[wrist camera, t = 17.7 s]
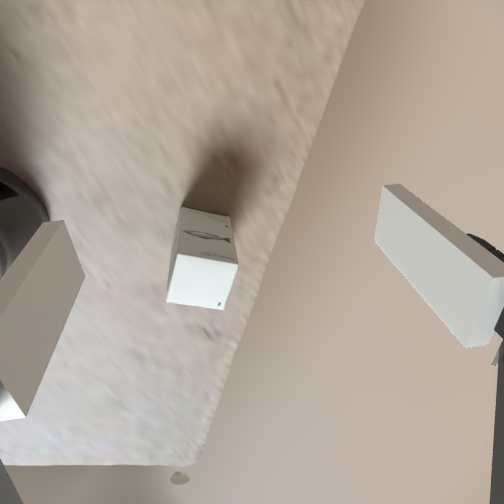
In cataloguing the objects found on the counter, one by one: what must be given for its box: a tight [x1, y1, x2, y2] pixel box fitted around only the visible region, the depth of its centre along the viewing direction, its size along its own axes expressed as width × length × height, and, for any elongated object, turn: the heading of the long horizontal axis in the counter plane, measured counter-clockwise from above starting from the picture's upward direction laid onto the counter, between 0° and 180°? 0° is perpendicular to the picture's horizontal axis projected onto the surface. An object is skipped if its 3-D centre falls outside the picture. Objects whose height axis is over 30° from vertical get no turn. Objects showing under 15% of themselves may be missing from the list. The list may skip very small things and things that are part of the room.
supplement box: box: [165, 207, 238, 310], centre depth 47 cm, size 7×7×13 cm
